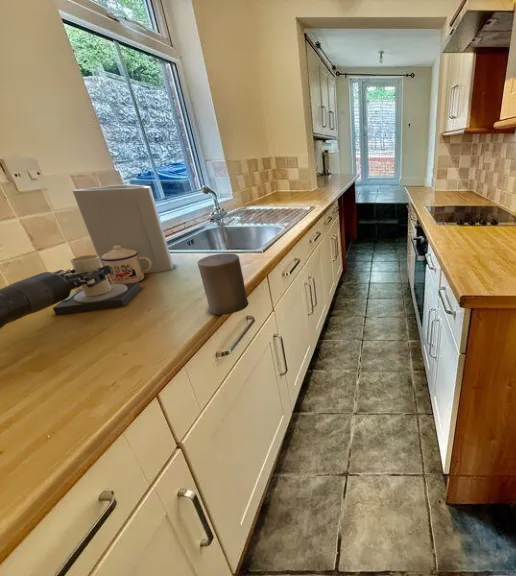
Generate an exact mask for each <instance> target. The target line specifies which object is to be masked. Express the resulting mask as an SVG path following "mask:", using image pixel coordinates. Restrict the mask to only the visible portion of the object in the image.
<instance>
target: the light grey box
mask: <svg viewBox="0 0 516 576" xmlns="http://www.w3.org/2000/svg"><path fill="white" fill-rule="evenodd" d="M72 194H73V196H74V198H75V202H76V204H77V207H78V209H79V211H80V214H81V216H82V220H83V222H84V224H85V227H86V230H87V233H88V235H89V237H90V240H91V242H92V245H93V247H94V250H95V253H96V255H99V256H100V259H101V257H102V255H104V254H106V253H108V252H109V251H111V250H113V246H117V245H119V246H121V248H125V249H128V250H135V251H136V252H137V253H138V254H137V256H138V257H147V258H149V259H150V260H151V268H150V269H149V270H148V271H146V272H143V274H151V273H158V272H164V271H165V272H166V271H172V270H173V269H174V262H173V260H172V255H171V253H170V249H169V245H168V242H167V239H166V235H165V232H164V228H163V224H162V221H161V217H160V214H159V210H158V207H157V205H156V200H155V197H154V194H153V190H152V186H151V185H140V184H130V183H129V184H128V183H127V184H113V185H105V186H95V187H85V188H77V189H73V190H72ZM101 262H102V264H103V266H105V264H104V262H103V260H102V259H101ZM139 262H140V265H141V268H142V270H143V269H146V268H148V266H149V263H148V261H147V260H144V259H140V260H139ZM107 277H108V279H110V277H109V275H108V274H107Z"/></svg>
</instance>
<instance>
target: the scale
mask: <svg viewBox="0 0 516 576" xmlns="http://www.w3.org/2000/svg"><path fill="white" fill-rule="evenodd" d="M110 285H111V288H112V290H111V291H109V292H107V293H104V294H101V295H96V296H86V295H85V294H84V292H83V289H82V287H79V288H77V289H75V291H74V292H71V293H70V295H69V297H68V298H67V299H65V300H63V301H60V302H58V303H56V304H55V306H53V307H52V310H53V312H54V314H55V315H64V314H72V313H81V312H89V311H96V310H105V309H113V308H121V307H125V306H126V305H127V304H128V303H129V301H130V300H131V299H132V298H133V297H134V296H135V295H136V294H137V293H138V292H139V291H140V290H141V289H142V288H141V285H140V281H139V282H136V283H126V284H112V283H110Z"/></svg>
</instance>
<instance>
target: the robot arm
mask: <svg viewBox="0 0 516 576" xmlns="http://www.w3.org/2000/svg"><path fill="white" fill-rule="evenodd" d="M111 272H112V271H111V268H110V266H107V265H106V266H103V267H101V268H98V269H95V270H92V271H81V272H77V273H75V270H74V268H69V269H66V270H64V269H58V270H56V271H53V272H52V271H45V272H44V271H43V272H40V273H38V274H35V275H32V276H30V277H26V278H23V279H21V280H18V281H15V282H13V283H10V284H8V285H6V286H4V287H2V288H0V330H2V328H4V327H5V326H6V325H8V324H10V323H13V322H15V321H17V320H20V319H22V318H24V317H26V316H29V315H32V314H35V313H38V312H41V311H42V310H44V309H47V308H49V307H52V306H54V305H57V304H59V303H60V302H61V301H63V300H65V299H67V298H68V297H69V295H70V294H71V293H72V290H73V291H74V290H78V289H79V288H82V287H81V286H84V285H87V287H93V286H95V285H97V284H98V283H100V282H102V281H104V280H106V277H105V275H107V274H110V273H111ZM92 273H93V274H92ZM82 274H84V276H85V278H84V279H83V277H82ZM90 274H91V275H90Z"/></svg>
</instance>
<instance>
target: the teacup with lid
mask: <svg viewBox="0 0 516 576" xmlns="http://www.w3.org/2000/svg"><path fill="white" fill-rule="evenodd" d="M137 254H138V253H137V252H136V251H135V250H128V249H125V248H121V246H119V245H117V246H113V250H111V251H109V252H108V253H106V254H104V255H102V257H101V259H102V260H103V262H104V264H105V266H106V265H107V266H110V268H111V271H112V272H111V273H110V274H108V275H109V277H110V278H109V280H110V284H126V283H136V282H139V283H140V282H142V281H143V279H145V275H144V274H145V273H143V272H146V271H148V270H149V269H150V268H151V260H150V259H149V258H147V257H138V256H137ZM140 259H144V260H147V261H148V263H149V266H148V268H146V269H143V270H142V268H141V265H140V262H139V260H140Z"/></svg>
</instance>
